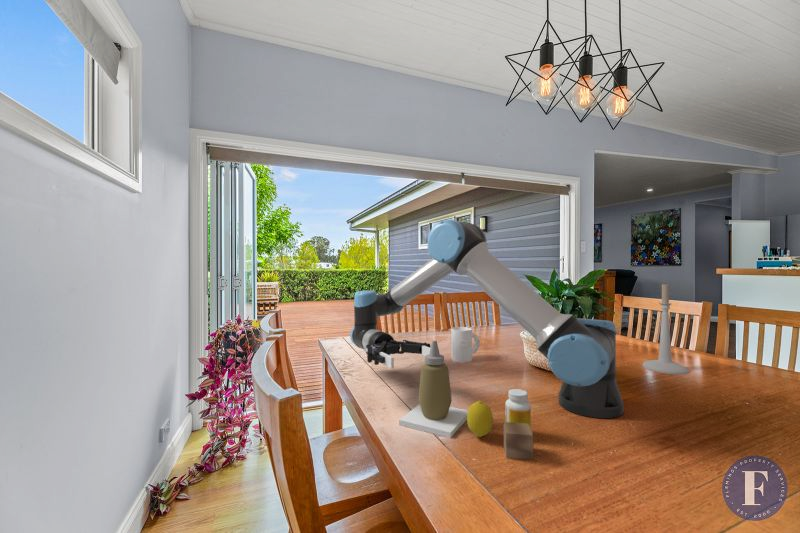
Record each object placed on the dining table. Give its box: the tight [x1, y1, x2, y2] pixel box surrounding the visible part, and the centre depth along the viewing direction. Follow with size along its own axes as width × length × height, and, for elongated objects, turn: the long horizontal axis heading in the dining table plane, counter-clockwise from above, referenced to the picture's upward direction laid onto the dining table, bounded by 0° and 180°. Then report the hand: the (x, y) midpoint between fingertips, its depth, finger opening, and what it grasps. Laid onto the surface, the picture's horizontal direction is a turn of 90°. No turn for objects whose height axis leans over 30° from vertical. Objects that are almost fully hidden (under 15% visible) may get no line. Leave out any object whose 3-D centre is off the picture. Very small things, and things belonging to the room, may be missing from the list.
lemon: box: [466, 400, 494, 438], centre depth 80 cm, size 6×6×8 cm
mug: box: [450, 326, 481, 363], centre depth 142 cm, size 8×12×12 cm
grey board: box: [398, 403, 469, 439], centre depth 89 cm, size 13×13×1 cm
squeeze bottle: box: [417, 340, 452, 419], centre depth 89 cm, size 8×8×18 cm
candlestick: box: [642, 282, 689, 375], centre depth 128 cm, size 13×13×30 cm
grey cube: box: [503, 421, 534, 461], centre depth 74 cm, size 5×5×5 cm
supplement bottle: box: [504, 388, 532, 430], centre depth 81 cm, size 5×5×10 cm
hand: (415, 359), depth 96 cm, fingers open, 13 cm apart
